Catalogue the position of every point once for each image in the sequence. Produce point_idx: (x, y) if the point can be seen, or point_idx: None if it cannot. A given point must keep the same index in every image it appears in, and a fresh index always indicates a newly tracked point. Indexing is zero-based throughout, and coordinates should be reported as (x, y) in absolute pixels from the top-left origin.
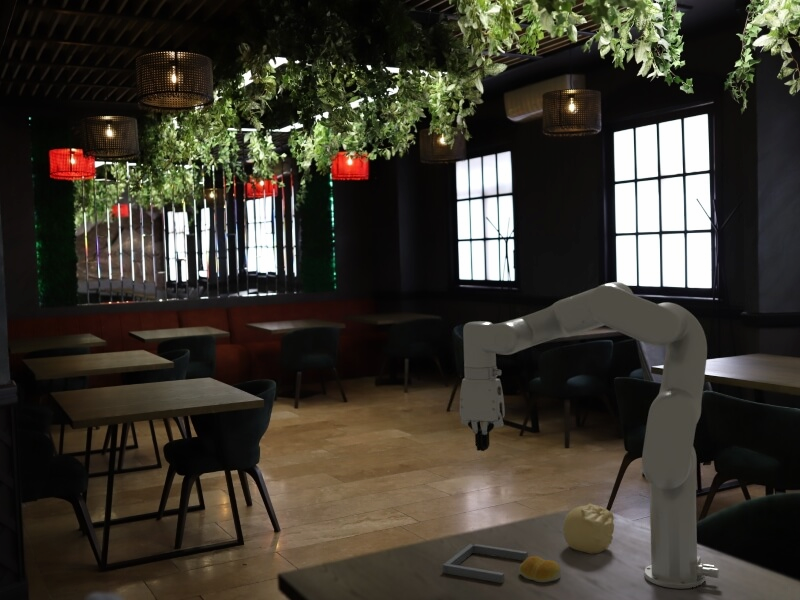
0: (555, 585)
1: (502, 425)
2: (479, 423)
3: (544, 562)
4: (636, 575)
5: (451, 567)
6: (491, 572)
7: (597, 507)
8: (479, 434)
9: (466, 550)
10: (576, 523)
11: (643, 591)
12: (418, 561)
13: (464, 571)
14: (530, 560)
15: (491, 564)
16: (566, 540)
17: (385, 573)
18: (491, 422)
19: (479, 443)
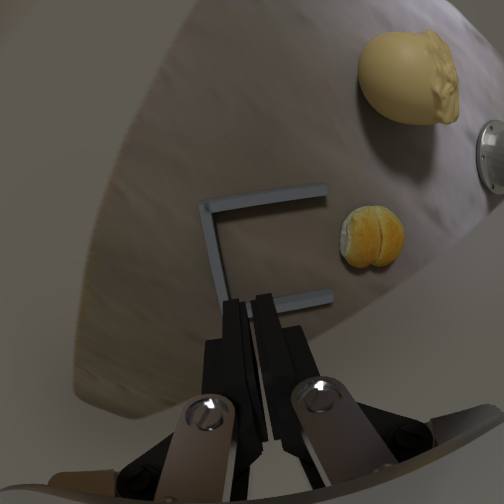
0: (398, 258)
1: (486, 411)
2: (220, 482)
3: (390, 250)
4: (469, 167)
5: None
6: (314, 303)
7: (453, 72)
8: (262, 438)
9: (215, 244)
10: (419, 115)
11: (481, 214)
12: (156, 297)
13: None
14: (368, 257)
15: (275, 240)
16: (374, 108)
17: (154, 354)
18: (389, 464)
19: (261, 395)
